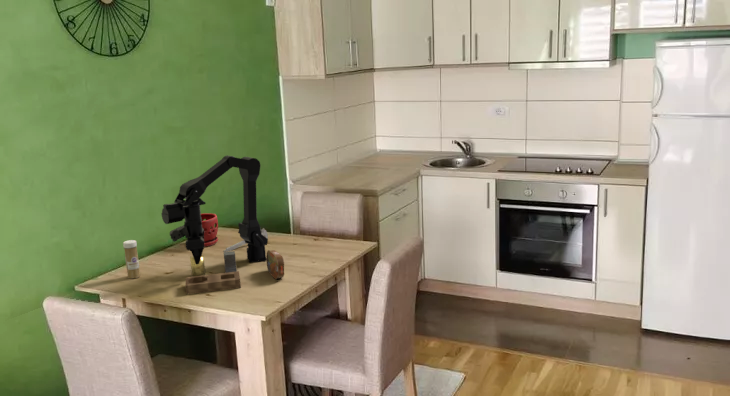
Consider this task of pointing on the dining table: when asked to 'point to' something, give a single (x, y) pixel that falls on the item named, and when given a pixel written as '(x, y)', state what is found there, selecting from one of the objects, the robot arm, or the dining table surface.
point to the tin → (275, 264)
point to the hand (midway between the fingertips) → (197, 260)
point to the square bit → (230, 261)
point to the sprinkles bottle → (131, 258)
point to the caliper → (244, 242)
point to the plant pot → (209, 228)
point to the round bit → (197, 267)
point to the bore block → (212, 282)
